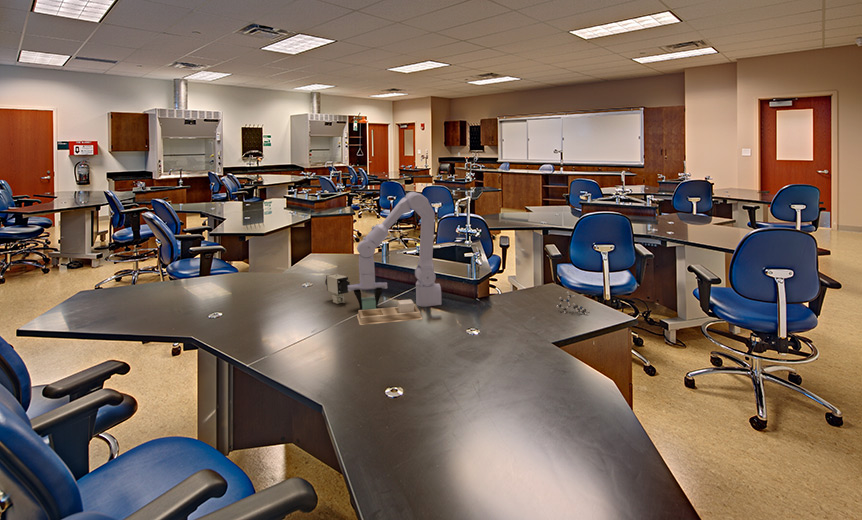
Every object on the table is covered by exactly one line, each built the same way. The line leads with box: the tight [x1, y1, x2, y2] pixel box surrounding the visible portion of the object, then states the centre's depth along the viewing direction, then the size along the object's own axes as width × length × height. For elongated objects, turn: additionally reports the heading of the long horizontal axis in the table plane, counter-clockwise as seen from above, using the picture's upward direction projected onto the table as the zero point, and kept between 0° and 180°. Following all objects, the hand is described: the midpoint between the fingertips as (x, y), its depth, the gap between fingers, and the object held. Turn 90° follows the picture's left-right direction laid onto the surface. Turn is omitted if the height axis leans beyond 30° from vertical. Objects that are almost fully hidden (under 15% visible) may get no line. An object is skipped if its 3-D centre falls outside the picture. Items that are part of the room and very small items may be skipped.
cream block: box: [396, 299, 415, 314], centre depth 179 cm, size 5×5×5 cm
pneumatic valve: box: [324, 273, 351, 305], centre depth 200 cm, size 6×12×12 cm, turn 41°
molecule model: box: [556, 291, 590, 316], centre depth 182 cm, size 6×12×8 cm, turn 76°
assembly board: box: [356, 304, 424, 326], centre depth 178 cm, size 22×12×3 cm, turn 103°
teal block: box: [361, 296, 377, 310], centre depth 188 cm, size 5×5×5 cm
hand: (368, 308), depth 188 cm, fingers open, 5 cm apart
